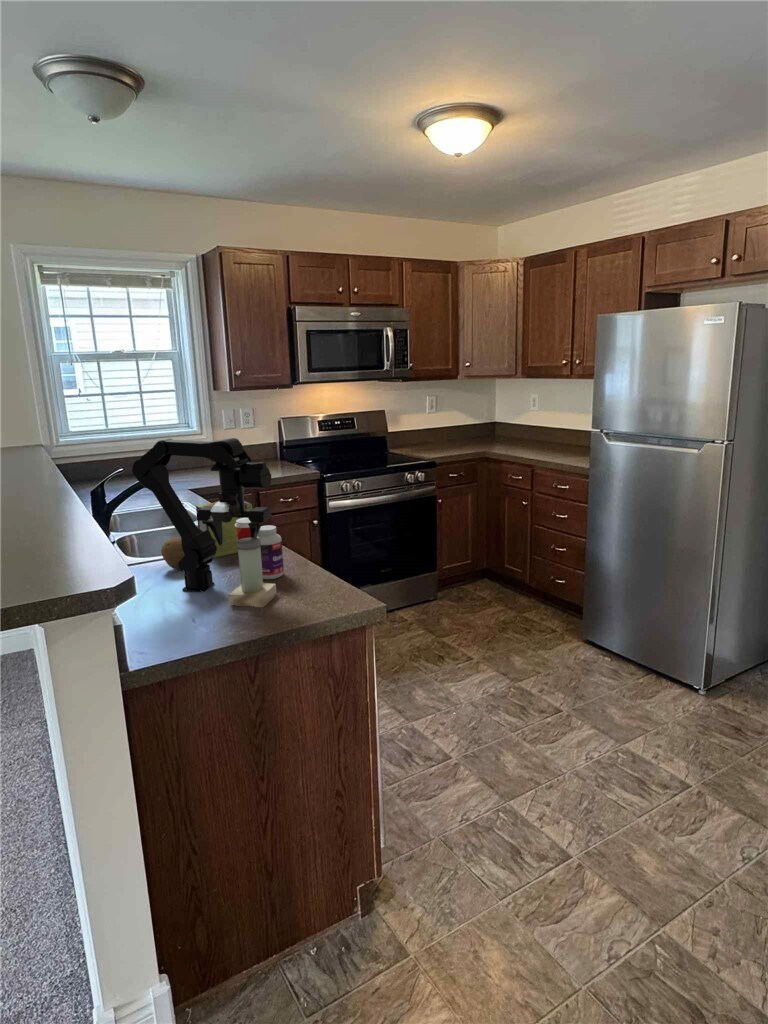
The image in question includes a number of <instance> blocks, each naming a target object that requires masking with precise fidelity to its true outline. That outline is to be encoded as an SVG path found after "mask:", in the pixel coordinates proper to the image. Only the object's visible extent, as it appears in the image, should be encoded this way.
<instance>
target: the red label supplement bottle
mask: <svg viewBox="0 0 768 1024" xmlns="http://www.w3.org/2000/svg"><path fill="white" fill-rule="evenodd" d="M250 522H251V521H250V520H249V519H248V518H241V519H238V520H236V524H235V526H236V531H237V538H238V540H239V539H243V538H250V527H249V525H248V523H250Z"/></svg>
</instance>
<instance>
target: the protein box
mask: <svg viewBox="0 0 768 1024" xmlns="http://www.w3.org/2000/svg"><path fill="white" fill-rule="evenodd" d="M217 502H218V501H215V502H211V503H205V504H200V505H199V504H198V505H196V506H195V510H196V513H197V511H198V510H199V509H201V508H203V507H205V506H214V505H215V504H216V503H217ZM244 505H247V509H245V511H250V510H252V509H253V504H252V503H251V502H249V501H246V500H244ZM238 519H241V518H236V517H233V518H232V520H231V521H230V522H228V523H224V522H222V534H223V541H222V545H219V544H218V542H217V540H216V538H215V536H214V534H213V532H212V530H211V528H210V527H209V526H208V525H206V524H203V523H202V521H198V520H197V519H196V520H197V528H198V529H200V530H201V531H206V530H208V531H209V532H210V534H211V536H212V538H213V539H214V540H215V541H216V542H215V544H216V546H217V550H216V554H215V556H214V557H213V559H214V558H218V557H222V556H228V555H229V556H230V555H232V554H233V555H234V554H238V548H237V540H238V538H237V531H236V526H235V524H236V520H238Z"/></svg>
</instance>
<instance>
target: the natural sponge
mask: <svg viewBox="0 0 768 1024" xmlns="http://www.w3.org/2000/svg"><path fill="white" fill-rule="evenodd" d="M160 554H161V555H162V558H163V560H164V561H165V562H166V564H167V566H169V567H170V568H172V569H173V570H177V571H181V570H180V569H179V566H178V562H179V561H180V560H181V559H182V558H183V557H184V556H185V554H184V552H183V550H182V542H181V536H173V537H170V538H169V539H167V540H166V541H165V542H164V543H163V544H162V547H161V553H160Z"/></svg>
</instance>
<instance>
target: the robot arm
mask: <svg viewBox="0 0 768 1024" xmlns="http://www.w3.org/2000/svg"><path fill="white" fill-rule="evenodd" d="M173 456H177V457H178V456H179V457H194V458H195V457H196V458H205V459H208V460H209V461H211V462H215V463H214V464H213V466H212V467H211V468H210V471H211V472H218V478H219V488H220V492H219V493H218V496H217V498H218V499H217V501H216V502H217V503H216V504H215V505H214V506H205V507H203V508H201V509H199V510H198V511H197V512H196V520H198V521H202V523H203V524H206V525H208V526H209V527H210V528H211V530H212V532H213V534H214V536H215V538H216V540H217V542H218V544H219V545H222V541H223V534H222V522H224V523H228V522H230V521H231V520H232V518H233V517H236V518H248V519H249V520H250V521H251V522H250V523H248V525H249V527H250V537H254V538H257V536H258V533H259V530H260V528H261V526H263V524H264V523H265V522H267V521H268V520H269V519H271V518H272V511H271V509H270V508H269V507H268V506H267V507H266V506H264V507H263V506H261V507H260V506H256V507H253V508H252V510H250V511H245V509H247V505H244V501H245V498H244V495H245V494H247V493H246V489H252V490H253V489H254V490H255V489H256V490H267V489H269V487H270V486H271V484H272V473H271V471H270V469H269V467H268V466H267V462H265V461H260V462H254V461H253V460H252V459H251V457H250V456H249V454H248V453H247V451H246V450H245V449H244V446H243V444H242V442H241V441H240V440H239V439H238V438H236V437H232V438H231V437H230V438H223V439H218V440H213V441H204V440H203V441H201V440H184V439H181V440H180V439H173V438H164V439H161V440H158V441H157V442H156V443H155V444H154V445H153V446H152V447H151V448H150V449H149V450H148V451H146V453H144V454H143V455H142V456H141V457H140V458H139V459H137V460H135V461H134V462H133V464H132V468H131V473H132V474H133V477H134V478H135V479H136V480H137V481H138V482H139V484H140V485H141V486H142V487H144V488H145V489H148V490H149V491H150V492H151V493H153V494H154V496H155V498H156V500H157V501H158V503H159V504H160V506H161V508H162V510H163V511H164V512H165V514H166V516H167V517H168V518H169V520H170V522H171V524H172V525H173V527H174V528H175V530H176V531H177V533H178V535H179V537H181V542H182V550H183V552H184V554H185V556H184V557H183V558H182V559H181V560H180V561H179V562H178V566H179V569H180V570H179V571H180V572H181V571H182V572H183V576H184V585H185V587H183V588H182V591H183V592H197V593H198V592H200V593H204V592H206V591H207V590H208V589H209V588H211V587H212V586H214V585H215V582H214V581H213V573H212V572H213V571H212V570H211V567H210V566H211V565H210V564H211V563H212V562H213V560H214V558H215V557H214V556H215V554H216V550H217V546H216V544H215V542H216V541H215V540H214V539H213V538H212V536H211V534H210V532H209V531H208V530H206V531H201V530H200V529H198V525H197V524H196V523H195V522H194V519H193V518H192V516H190V514H189V512H188V510H187V509H186V507H185V506H184V504H183V503H182V500H180V498H179V496H178V495H177V492H176V491H175V490H174V488H173V487H172V485H171V483H170V477H169V475H170V473H169V470H168V468H167V466H168V465H169V463H170V462H171V460H172V457H173ZM198 521H197V522H198ZM213 557H214V558H213Z"/></svg>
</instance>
